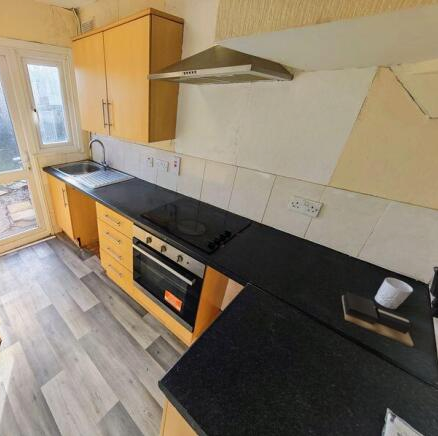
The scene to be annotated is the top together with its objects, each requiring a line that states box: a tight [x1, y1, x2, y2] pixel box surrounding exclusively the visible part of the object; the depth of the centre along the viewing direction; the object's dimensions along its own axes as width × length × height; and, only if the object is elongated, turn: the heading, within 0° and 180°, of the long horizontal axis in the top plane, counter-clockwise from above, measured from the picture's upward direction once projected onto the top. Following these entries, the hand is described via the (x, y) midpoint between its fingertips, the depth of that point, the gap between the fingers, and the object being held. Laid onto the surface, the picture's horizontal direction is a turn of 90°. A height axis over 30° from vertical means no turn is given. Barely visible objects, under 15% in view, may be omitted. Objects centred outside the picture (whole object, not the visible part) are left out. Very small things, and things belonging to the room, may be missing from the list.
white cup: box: [374, 277, 414, 310], centre depth 90 cm, size 8×8×10 cm
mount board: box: [341, 291, 415, 347], centre depth 84 cm, size 18×14×4 cm
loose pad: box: [375, 305, 412, 334], centre depth 82 cm, size 8×6×4 cm
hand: (432, 314), depth 75 cm, fingers closed
